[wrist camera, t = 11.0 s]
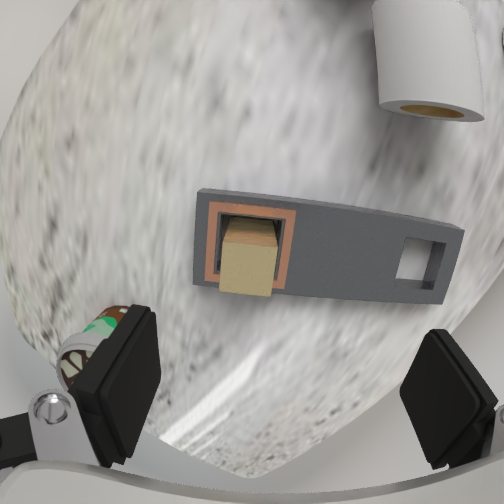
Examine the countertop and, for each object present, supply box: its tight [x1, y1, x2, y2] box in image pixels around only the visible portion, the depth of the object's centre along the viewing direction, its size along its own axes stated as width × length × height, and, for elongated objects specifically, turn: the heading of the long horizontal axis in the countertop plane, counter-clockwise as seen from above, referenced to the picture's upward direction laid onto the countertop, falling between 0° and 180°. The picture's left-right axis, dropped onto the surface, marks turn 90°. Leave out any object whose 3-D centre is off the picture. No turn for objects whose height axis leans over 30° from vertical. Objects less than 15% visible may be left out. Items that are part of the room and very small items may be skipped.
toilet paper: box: [371, 0, 484, 122], centre depth 19 cm, size 10×10×10 cm
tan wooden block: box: [219, 217, 278, 297], centre depth 26 cm, size 4×4×8 cm
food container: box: [56, 306, 130, 392], centre depth 29 cm, size 12×6×10 cm, turn 144°
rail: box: [193, 188, 465, 305], centre depth 29 cm, size 28×9×3 cm, turn 84°
